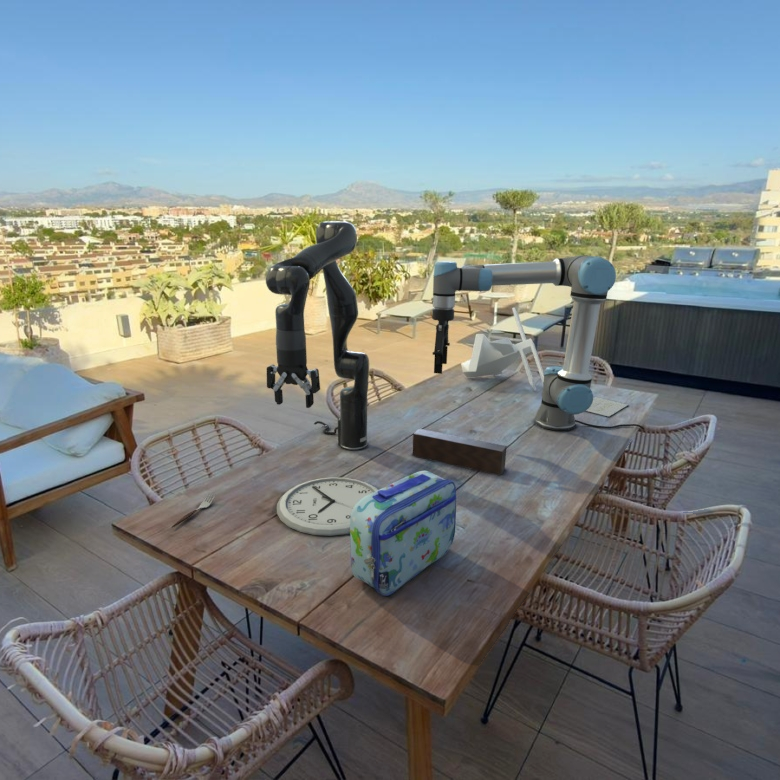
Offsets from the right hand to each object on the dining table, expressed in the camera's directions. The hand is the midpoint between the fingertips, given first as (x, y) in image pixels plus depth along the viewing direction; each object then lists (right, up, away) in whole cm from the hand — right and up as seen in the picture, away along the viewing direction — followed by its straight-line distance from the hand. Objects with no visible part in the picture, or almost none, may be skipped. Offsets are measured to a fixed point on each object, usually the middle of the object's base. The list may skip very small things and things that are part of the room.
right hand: (440, 368), depth 184 cm
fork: (-69, -40, -47) cm, 93 cm away
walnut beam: (+4, -31, -14) cm, 34 cm away
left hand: (-43, -12, -46) cm, 64 cm away
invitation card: (+74, -15, +42) cm, 86 cm away
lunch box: (-15, -48, -68) cm, 84 cm away
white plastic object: (+36, -5, +72) cm, 81 cm away
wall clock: (-34, -39, -42) cm, 66 cm away
